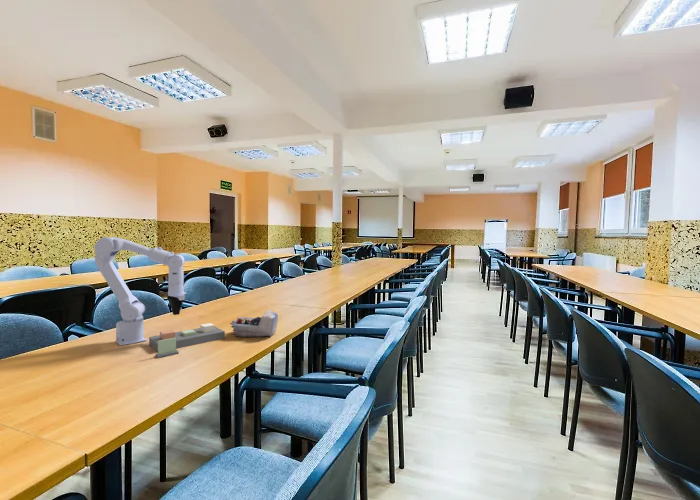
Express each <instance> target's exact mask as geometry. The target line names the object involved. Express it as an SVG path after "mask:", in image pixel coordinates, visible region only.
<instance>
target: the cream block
mask: <svg viewBox="0 0 700 500" xmlns="http://www.w3.org/2000/svg"><path fill="white" fill-rule="evenodd" d="M215 327H216V326H215V324H213V323H211V322H209V323H203V324H200V325H199V328H200V331H201V332H203V333H207V332H212V331H215Z"/></svg>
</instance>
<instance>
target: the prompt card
mask: <svg viewBox="0 0 700 500" xmlns="http://www.w3.org/2000/svg"><path fill="white" fill-rule="evenodd" d="M174 355H179V351H178V350H177V348H176V338H171V339H166V340H160V341H158V351H157V353H155V357H156V358H157V359H161V358H165V357H170V356H174Z"/></svg>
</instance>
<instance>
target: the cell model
mask: <svg viewBox="0 0 700 500" xmlns="http://www.w3.org/2000/svg"><path fill="white" fill-rule="evenodd" d="M278 320H279V315H278V313H277V312H274V311H273V310H270V309H267V310H266V311H265V313H264V314H263V315H262V316H256V317H247V316H242V317H237V319H236V320H232V321H231V322H229V324H230V325H231V326H230V328H231V329H232V328H233V329H232V332H234V335H235V336H236V337H239V338H251V337H255V338H256V337H258V338H259V337H261V338H262V337H266V336H267V337H272V336H273V334H274V333H275V332H277V327H278Z"/></svg>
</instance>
